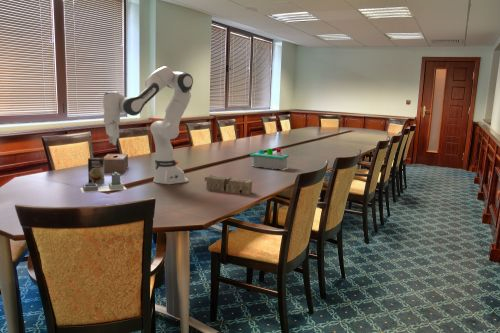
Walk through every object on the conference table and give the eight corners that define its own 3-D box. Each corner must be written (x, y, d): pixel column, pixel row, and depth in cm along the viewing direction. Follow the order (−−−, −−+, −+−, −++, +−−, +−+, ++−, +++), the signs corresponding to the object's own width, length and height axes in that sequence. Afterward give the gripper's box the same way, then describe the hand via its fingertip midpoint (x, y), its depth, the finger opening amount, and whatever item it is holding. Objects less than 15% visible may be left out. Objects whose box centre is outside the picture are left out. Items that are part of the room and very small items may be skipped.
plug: (118, 186, 243) (118, 171, 242) (120, 188, 240) (120, 173, 238) (111, 187, 242) (111, 172, 240) (113, 188, 238) (112, 173, 237)
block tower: (253, 193, 249) (209, 186, 259) (253, 180, 247) (210, 173, 258) (248, 196, 242) (203, 189, 252) (249, 182, 240) (204, 175, 250)
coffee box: (88, 185, 250) (87, 159, 248) (89, 183, 256) (88, 157, 254) (104, 185, 253) (103, 159, 250) (104, 182, 259) (104, 157, 256)
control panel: (256, 144, 343) (290, 147, 331) (256, 164, 346) (289, 168, 334) (249, 146, 330) (284, 150, 317) (248, 166, 333) (283, 171, 320)
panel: (122, 187, 249) (122, 180, 248) (127, 191, 238) (127, 185, 238) (80, 190, 237) (79, 183, 237) (82, 195, 227) (82, 188, 226)
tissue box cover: (123, 173, 290) (123, 159, 288) (101, 173, 287) (101, 159, 285) (128, 167, 315) (127, 154, 313) (108, 166, 312) (107, 153, 310)
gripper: (121, 121, 229) (122, 145, 232) (114, 118, 247) (115, 141, 249) (109, 121, 226) (110, 146, 229) (103, 118, 244) (104, 141, 246)
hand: (113, 143), depth 239 cm, fingers open, 8 cm apart
